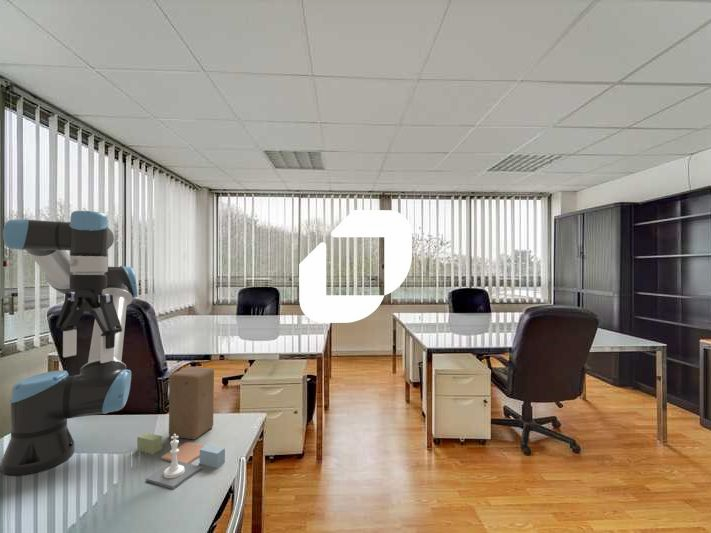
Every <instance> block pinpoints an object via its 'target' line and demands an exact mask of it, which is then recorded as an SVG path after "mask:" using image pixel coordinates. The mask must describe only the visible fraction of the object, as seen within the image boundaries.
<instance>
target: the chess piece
mask: <svg viewBox="0 0 711 533" xmlns="http://www.w3.org/2000/svg"><path fill="white" fill-rule="evenodd" d="M172 439H173V440H172ZM178 439H179V438H178V436H176V434H174V436H172V437H171V436H170V440H171V441H170V443H169V444H170V447H171V450H169V452H170V453H171V454H172V461H170V463H171V466H170V467H168V468H167V469H166V470H165V471H164V474H163V476H164V477H165V478H175V477H178V476H180V475H182V474H183V473H184V471H185V469H184V466H182V465H179V464H178V462H177V452H179V449H177V447H179V442H180V441H179V440H178Z"/></svg>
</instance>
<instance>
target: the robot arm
mask: <svg viewBox="0 0 711 533" xmlns="http://www.w3.org/2000/svg"><path fill="white" fill-rule="evenodd" d="M108 218H109V217H108V215H107V214H106V213H104V212H100V211H93V210H89V211H88V210H74V211H73V212H71V214H70V221H69V222H68V221H52V220H51V221H50V220H38V219H35V220H34V219H29V218H25V219H9V220H7V221H6V222H5V224H4V226H3V230H2V236H3V237H2V238H3V239H2V240H3V242H4V245H5V246H6V247H7V248H9V249H12V250H19V251H20V250H21V251H22V250H25V251H26V252H27V253H28V255H29V256H30V257H31V258H32V259H33V261H35V263H36V264H37V265H38V266H39V269H41V270H42V271H43V273H45V279H46V282H47V283H48V284H49V285H50V287H52V288H53V289H54V290H55V291H57V292H59V293H61V294H63V295H64V301H63V304H62V307H61V311H60V313H59V315H58V318H57V321H56V326H55V327H56V328H60V330H61V331H62V357H63V358H69V357H73V356H77V346H78V344H77V342H78V341H77V340H78V339H77V338H78V337H77V334H78V332H77V328H78V327H77V324H78V323H79V321H80V319H81V318H82V316H83V315H84V313H85V312H88V314H89V313H90V314H91V315H92V316H93V317H94V323H93V327H92V328H93V330H92V335H91V341H90V349H89V354H88V360H87V363H85V364H84V365H82V366H81V368H80V371H79V374H75V375H69V373H68V371H67V370H65V369H64V370H59V369H57V370H52V371H48V372H47V371H46V372H42V373H38V374H35V375H31V376H27V377H25V378H23V379H21V380H19V381H17V382H16V383H15V384H14V385H13V387H12V388H11V398H10V401H9V402H10V439H9V442H8V443H7V447H6V449H5V452H4V455H3V457H2V459H1V462H0V472H1V473H2V474H4V475H7V476H23V475H24V476H25V475H30V474H34V473H39V472H43V471H45V470H48V469H51V468H53V467H56V466H58V465H60V464H62V463H64V462H66V461H67V460H68V459H70V458H71V457H72V456H73V455H74V454H75V447H76V446H75V441H74V439H73V437H72V434H71V432H70V429H69V428H68V419H74V418H81V417H88V416H97V415H103V414H104V415H105V414H108V413H114V412H119V411H120V410H121V411H122V410H123V408H124V407H125V406H126V404H127V401H128V398H129V394H130V390H131V383H132V371H131V369H127V365H126V363H124V362H123V361H122V359H123V358H122V357H123V351H124V350H123V349H124V338H125V328H126V327H125V326H126V318H127V317H126V316H127V306H129V305H130V304H131V303H132V302H133V299H135V298H138V285H137V284H138V283H137V277H136V276H137V275H136V270H135V269H134V267H131V266H123V265H119V266H108V258H109V257H108V249H110V248H111V247H112V246H113V244H114V242H115V236H114V233H113V231H112V230H111V229H110V228H109V221H108V220H109V219H108ZM68 251H69V253H68Z"/></svg>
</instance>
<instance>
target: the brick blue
mask: <svg viewBox="0 0 711 533" xmlns="http://www.w3.org/2000/svg"><path fill="white" fill-rule="evenodd" d="M203 446H204V447H203V448H201V449H200V457H199V464H200V465H204V466H207V467H211V468H215V469H218V468H219V467H221V466H222V465H223V464H225V462H226V460H225V459H226V448H224V447H221V446H216V445H212V444H206V445H203Z"/></svg>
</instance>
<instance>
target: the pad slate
mask: <svg viewBox="0 0 711 533" xmlns="http://www.w3.org/2000/svg"><path fill="white" fill-rule="evenodd" d="M177 462H178V464H179V465H182V466H184V469H185V471H184V473H183V474H182V475H180V476H178V477H175V478H165V477H164V476H163V474H164V471H165V470H166V469H167V468H168V467H170V466H171V462H170V463H168V464H167V465H166V466H164V467H162V468H161V469H159V470H157V471H156V472H155V473H153V474H151V475H149V476H148V477H146V478H145V482H149V483H152V484H156V485H158V486H162V487H164V488H165V487H166V488H168V489H172V490H175V488H177V487H179V486H180V485H181V484H182V483H184V482H185V481H187V480H188V479H190V478H191V477H192V476H194V475H195V474H196V473H198V472H199V471H201V470H202V466H199V465H195V464H191V463H189V464H188V463H184V462H180V461H177Z"/></svg>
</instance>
